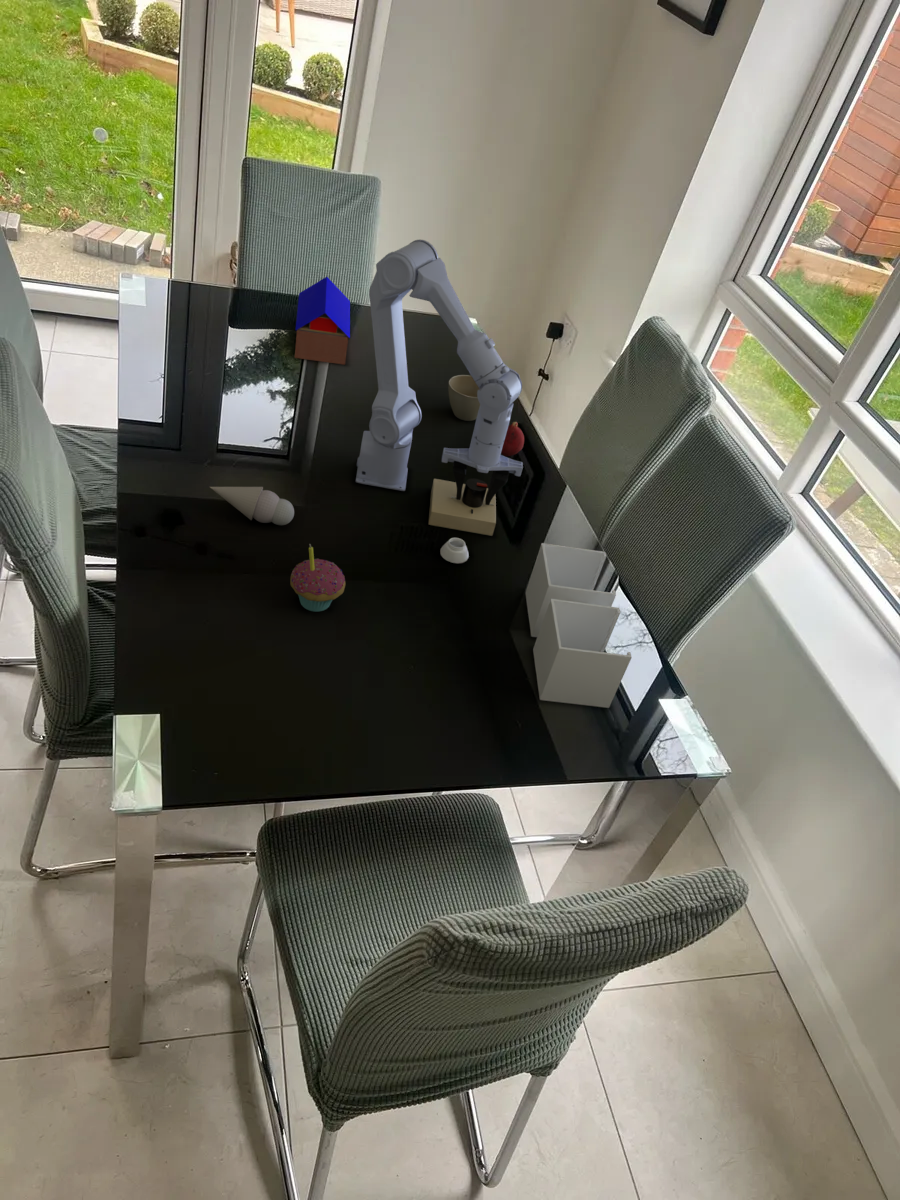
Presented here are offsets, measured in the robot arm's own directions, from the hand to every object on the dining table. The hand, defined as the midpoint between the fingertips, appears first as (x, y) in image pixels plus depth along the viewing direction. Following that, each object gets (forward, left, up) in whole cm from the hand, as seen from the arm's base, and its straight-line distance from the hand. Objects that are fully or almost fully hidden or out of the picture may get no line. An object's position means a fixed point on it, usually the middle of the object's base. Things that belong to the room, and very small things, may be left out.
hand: (472, 499), depth 170 cm
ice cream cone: (-38, -12, -4) cm, 41 cm away
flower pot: (-2, +38, -4) cm, 38 cm away
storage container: (+16, -32, -4) cm, 37 cm away
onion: (+8, +24, -4) cm, 25 cm away
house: (-36, +59, -4) cm, 69 cm away
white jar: (-2, -14, -4) cm, 14 cm away
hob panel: (-2, 0, -3) cm, 4 cm away
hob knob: (0, 0, 0) cm, 0 cm away
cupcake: (-24, -32, -4) cm, 40 cm away
